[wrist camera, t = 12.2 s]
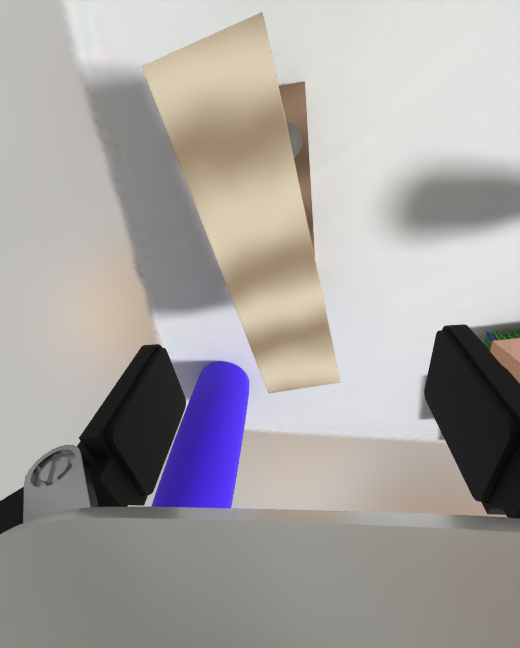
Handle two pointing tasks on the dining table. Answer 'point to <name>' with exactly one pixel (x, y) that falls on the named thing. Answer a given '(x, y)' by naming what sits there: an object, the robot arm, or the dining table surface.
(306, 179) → the peg stand
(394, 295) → the dining table surface
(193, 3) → the dining table surface
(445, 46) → the dining table surface
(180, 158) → the shelf board
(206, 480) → the bottle
